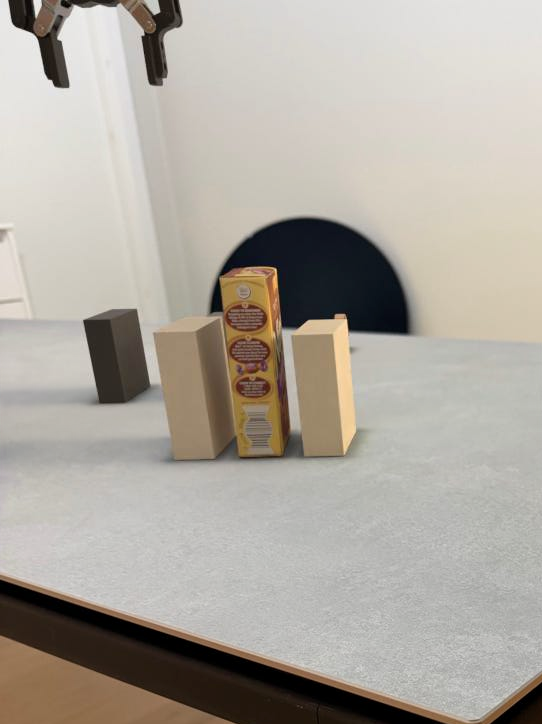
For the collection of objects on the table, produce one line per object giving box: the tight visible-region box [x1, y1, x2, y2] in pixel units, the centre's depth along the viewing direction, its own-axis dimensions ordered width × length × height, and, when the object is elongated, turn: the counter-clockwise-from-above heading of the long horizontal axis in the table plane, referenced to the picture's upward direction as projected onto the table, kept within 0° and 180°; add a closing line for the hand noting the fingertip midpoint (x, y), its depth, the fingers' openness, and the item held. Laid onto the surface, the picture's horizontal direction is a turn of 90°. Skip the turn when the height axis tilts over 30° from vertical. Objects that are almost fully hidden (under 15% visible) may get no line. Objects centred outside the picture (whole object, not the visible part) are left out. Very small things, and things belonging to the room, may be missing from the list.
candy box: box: [218, 266, 292, 458], centre depth 85 cm, size 9×4×15 cm, turn 5°
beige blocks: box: [152, 316, 357, 461], centre depth 86 cm, size 15×9×11 cm, turn 90°
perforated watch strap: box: [333, 313, 350, 337], centre depth 134 cm, size 3×5×5 cm, turn 0°
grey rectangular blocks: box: [82, 308, 230, 404], centre depth 109 cm, size 15×9×9 cm, turn 90°
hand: (109, 86), depth 85 cm, fingers open, 8 cm apart
